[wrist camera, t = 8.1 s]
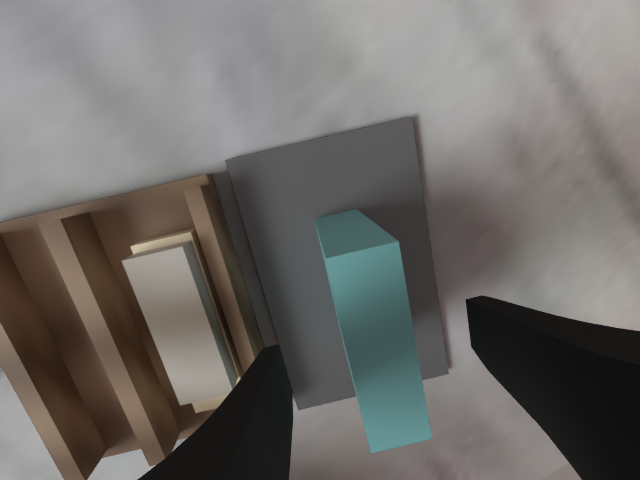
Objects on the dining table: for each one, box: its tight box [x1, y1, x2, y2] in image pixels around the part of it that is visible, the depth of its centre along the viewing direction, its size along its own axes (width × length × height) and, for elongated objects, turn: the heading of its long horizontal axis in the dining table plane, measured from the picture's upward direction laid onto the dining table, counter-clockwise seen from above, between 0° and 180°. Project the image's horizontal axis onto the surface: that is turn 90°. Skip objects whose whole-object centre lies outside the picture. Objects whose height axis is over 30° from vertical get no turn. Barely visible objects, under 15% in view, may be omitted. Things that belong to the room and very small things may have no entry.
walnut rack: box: [0, 174, 265, 480], centre depth 17 cm, size 15×12×3 cm
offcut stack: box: [122, 228, 244, 413], centre depth 16 cm, size 10×3×2 cm, turn 13°
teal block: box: [314, 209, 432, 454], centre depth 15 cm, size 8×2×8 cm, turn 13°
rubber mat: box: [225, 117, 449, 410], centre depth 18 cm, size 16×10×1 cm, turn 13°
